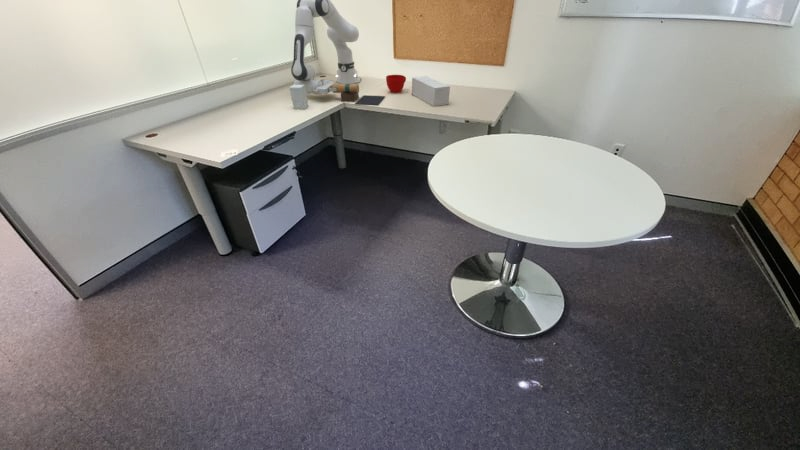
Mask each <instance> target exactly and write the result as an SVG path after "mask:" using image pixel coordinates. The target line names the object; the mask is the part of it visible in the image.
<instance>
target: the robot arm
mask: <svg viewBox="0 0 800 450" xmlns="http://www.w3.org/2000/svg"><path fill="white" fill-rule="evenodd" d="M294 17H295V19H294V20H295V22H294V26H295V27H294V28H295V33H294V34H295V35H294V40H293V41H294V42H293V61H292V65H291V68H290V71H291V76H292V77H293V78H294V79H295V80H294V81H293V85H305V90H306V95H310V94H311V95H328V94H329V93H331V92H332V91H337V88H332V84H359V83H360V81H361V77H359V75H358V71H357V69H356V68H355V61H353V60H354V58H353V51H352V49H351V47H349V46H348V44H347V43H354V42H357V41H358V39H359V36H360V31H359V29H358V28H357V26H355V25H354V24H351V23H350V22H349V21H348V20H346V18H344V17H343V16H342V15H341V13H340V12H339V11H338V9H337V7H335V4H333V1H332V0H297V1H296V9H295V16H294ZM320 17H321V19H323V21H324V22H325V24H326V25H327V29H326V34H327V37H328V39H329V40H330V41H331V42H332V43H333V46H334V47H335V48H334V49H335V51H336V56H337V68H338V69H337V70H336V75H335V77H336V80H335V81H334V80H325V79H315V74H316V73H315V72H316V71H315V69H314V67H313V66H312V65H310V64H306V63H305V48H306V46H307V45H308V44H310V43H311V42H312V41H313V40H314V35H315V34H314V33H315V27H314V18H320ZM332 93H333V92H332Z"/></svg>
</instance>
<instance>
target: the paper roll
mask: <svg viewBox="0 0 800 450" xmlns="http://www.w3.org/2000/svg"><path fill="white" fill-rule="evenodd" d="M332 88H337V91H332V93H333V94H341V93H360V85H359V83H354V84H340V83H336V84H332Z"/></svg>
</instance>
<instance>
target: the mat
mask: <svg viewBox="0 0 800 450" xmlns="http://www.w3.org/2000/svg"><path fill="white" fill-rule="evenodd" d="M385 97H386V96H385V95H362V96H361V97H359V98H358V99H357V100H356V101H355V102H354V105H361V106H363V105H364V106H379V105H380V103H382V101H383V100H384V99H385Z"/></svg>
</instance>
